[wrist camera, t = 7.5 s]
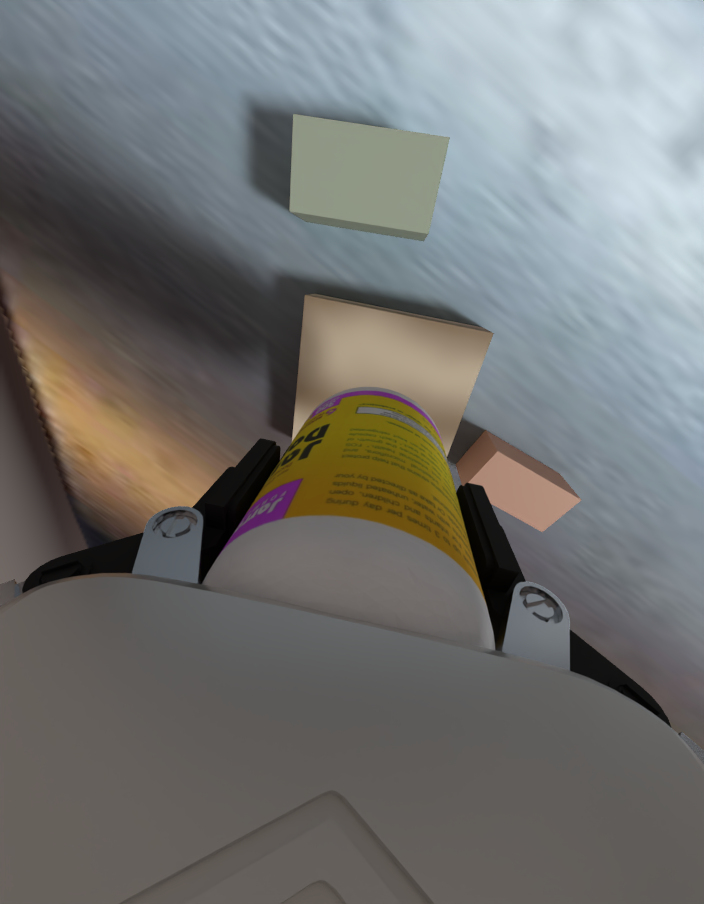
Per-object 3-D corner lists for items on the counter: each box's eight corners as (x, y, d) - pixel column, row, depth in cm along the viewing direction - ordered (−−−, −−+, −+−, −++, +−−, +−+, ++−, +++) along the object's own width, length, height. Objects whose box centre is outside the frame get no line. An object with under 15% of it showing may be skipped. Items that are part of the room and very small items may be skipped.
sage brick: (307, 222, 19) (289, 211, 16) (311, 143, 17) (293, 114, 14) (423, 241, 18) (428, 233, 15) (440, 163, 17) (449, 137, 14)
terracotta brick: (455, 463, 25) (463, 488, 22) (484, 428, 23) (497, 451, 20) (525, 502, 26) (542, 532, 23) (558, 472, 24) (581, 499, 21)
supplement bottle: (340, 353, 13) (13, 772, 2) (471, 428, 14) (777, 1024, 3) (282, 468, 16) (29, 883, 5) (392, 524, 17) (384, 985, 6)
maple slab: (314, 293, 20) (304, 295, 18) (483, 327, 20) (493, 333, 18) (299, 441, 26) (290, 456, 24) (431, 470, 25) (435, 487, 23)
